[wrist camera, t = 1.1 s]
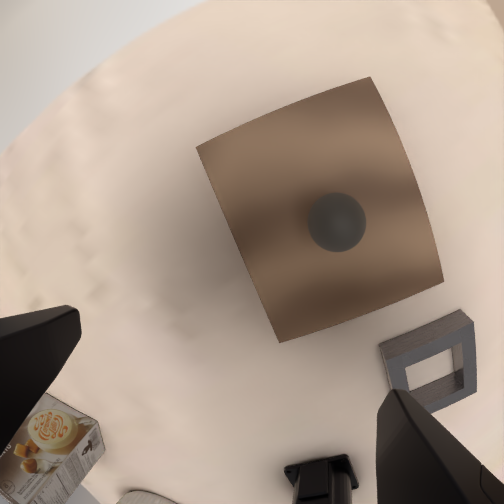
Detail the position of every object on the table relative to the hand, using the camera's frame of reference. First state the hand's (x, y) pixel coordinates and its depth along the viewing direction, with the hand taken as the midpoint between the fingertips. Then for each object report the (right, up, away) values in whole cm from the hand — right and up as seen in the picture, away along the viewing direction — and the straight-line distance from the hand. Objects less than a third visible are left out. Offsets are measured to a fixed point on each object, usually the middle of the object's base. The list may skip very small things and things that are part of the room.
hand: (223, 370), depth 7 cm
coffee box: (-22, -19, +22) cm, 37 cm away
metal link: (+15, -6, +13) cm, 20 cm away
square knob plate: (+6, +6, +12) cm, 14 cm away
